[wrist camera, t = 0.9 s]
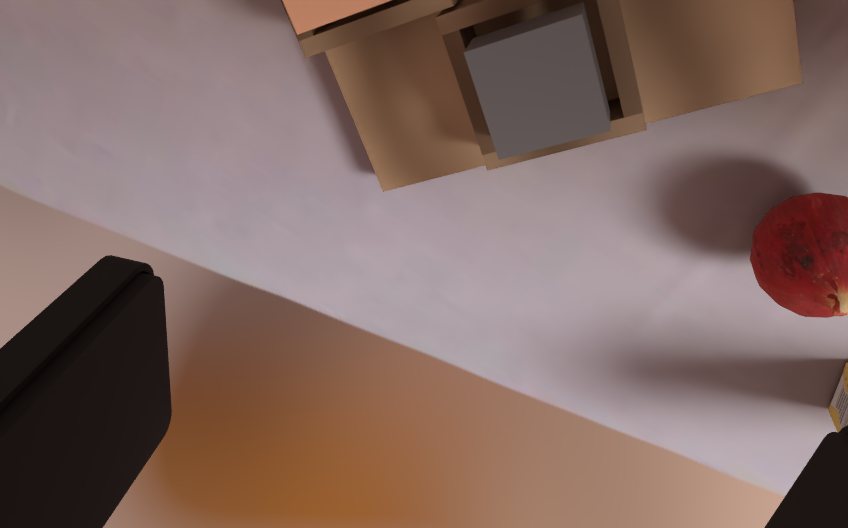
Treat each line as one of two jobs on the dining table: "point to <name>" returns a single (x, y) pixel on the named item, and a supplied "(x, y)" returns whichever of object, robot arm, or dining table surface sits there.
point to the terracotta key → (323, 11)
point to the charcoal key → (539, 82)
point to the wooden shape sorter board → (514, 3)
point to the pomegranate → (805, 254)
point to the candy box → (840, 402)
